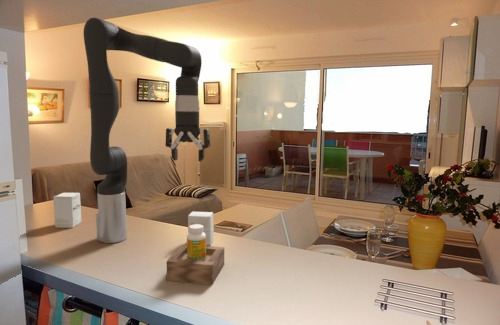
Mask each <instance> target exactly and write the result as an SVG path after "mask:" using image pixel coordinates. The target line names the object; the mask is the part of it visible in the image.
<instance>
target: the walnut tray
mask: <svg viewBox="0 0 500 325" xmlns="http://www.w3.org/2000/svg"><path fill="white" fill-rule="evenodd" d="M224 266H225V246H215V245H206V259H205V260H203V261H195V260H188V259H187V243H183V244H182V245H181V246H180V247H179V248H178V249H177V250H176V251H175V252H174V253H172V255H171V256H170V257H169V258H168V259H167V260H166V281H169V282H170V281H171V282H180V283H182V282H183V283H192V284H201V285H202V284H204V285H214V283H215V282H214V281H216V279H218V277H219V275H220V273H221V271H222V270H223V268H224Z"/></svg>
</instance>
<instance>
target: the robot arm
mask: <svg viewBox="0 0 500 325" xmlns="http://www.w3.org/2000/svg"><path fill="white" fill-rule="evenodd" d="M83 42H84V48H85V55H86V61H87V62H86V63H87V73H88V74H87V75H88V81H89V82H88V83H89V84H88V85H89V90H88V92H89V108H90V127H91V128H90V129H91V130H90V131H91V132H90V134H91V135H90V150H89V151H90V152H89V160H90V166H91V169H92V171H93V172H94V173H95V174H96V175H99V176H105V177H104V179H103V180H102V181H101V182H99V184H98V185H97V188H96V192H97V193H96V194H97V209H98V210H97V212H98V213H96V215H95V222H96V224H95V225H96V227H95V228H96V241H97V242H98V241H99V242H101V243H104V244H114V243H119V242H122V241H125V240H126V239H127V238H128V237H127V236H128V229H127V208H126V206H127V204H126V186H127V183H128V158H127V157H128V156H127V154H126V152H125V150H124V149H123V148H122V147H119V146H110V134H111V131H112V127H113V125H114V123H115V122H116V119H117V117H118V115H119V110H120V92H119V88H118V84H117V82H116V80H115V77H114V75H113V73H112V72H111V69H110V66H109V64H108V63H109V62H108V56H107V53H108V52H107V51H120V52H121V51H122V52H128V53H131V54H134V55H135V54H136V55H138V56H140V57H143V58H146V59H149V60H153V61H156V62H160V63H166V64H169V65H172V66H175V67H178V68H181V71H180V76H179V77H177V78H176V79H175V101H174V106H175V107H174V109H175V110H174V111H175V115H174V117H175V119H174V120H175V122H174V123H175V127H174V128H172V127H168V128H166V129H165V147H166V148H170V149H171V151H170V152H171V159H172V160H173V161H175V162H176V161H177V160H178V152H179V151H178V146H179V145H180V144H181V143H193V144H194V145H196V146H197V148H198V152H197V153H198V156H197V157H198V158H197V159H198V162H203V160H204V159H205V149H208V148H210V147H211V140H210V139H211V138H210V129H209V128H204V129H201V127H200V101H199V100H200V99H199V80H200V76H201V69H202V62H203V60H202V55H201V52H200V51H199V50H198V48H197V47H194V46H191V45H189V44H185V43H182V42H177V41H171V40H167V39H165V38H160V37H157V36H152V35H148V34H147V35H146V34H139V33H138V34H137V33H134V32H131V31H128V30H127V29H126V30H125V29H124V28H121V26H118V25H116V24H114V23H113V22H110V21H107V20H105V19H101V18H98V17H91V18H89V19H87V20H86V22H85V24H84V26H83ZM174 134H175V135H176V137H175V139H174V140H173V135H174ZM200 134H201V135H202V136H203V142H202V140H201V139H200V137H199V136H200Z"/></svg>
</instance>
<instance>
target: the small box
mask: <svg viewBox="0 0 500 325" xmlns="http://www.w3.org/2000/svg"><path fill="white" fill-rule="evenodd" d="M193 224H200V225H203V232H204V233H205V234H206V246H212V244H213V242H214V240H215V239H214V236H215V234H214V232H215V231H214V230H215V229H214V212H213V211H191V212H190V213H189V214H188V215H187V228H188V229H187V230H188V233H190V232H189V226H190V225H193ZM188 233H187V234H188Z"/></svg>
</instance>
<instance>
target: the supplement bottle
mask: <svg viewBox="0 0 500 325" xmlns="http://www.w3.org/2000/svg"><path fill="white" fill-rule="evenodd" d="M189 232H190V233H187V235H186V244H187V259H188V260H195V261H203V260H205V259H206V246H207V245H206V234H205V233H204V232H203V225H200V224H193V225H190V226H189Z"/></svg>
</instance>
